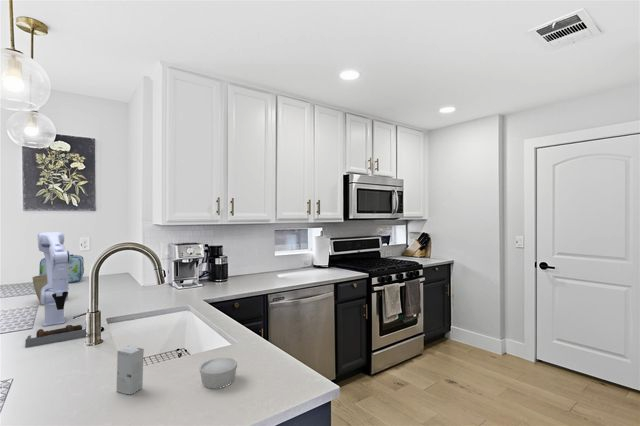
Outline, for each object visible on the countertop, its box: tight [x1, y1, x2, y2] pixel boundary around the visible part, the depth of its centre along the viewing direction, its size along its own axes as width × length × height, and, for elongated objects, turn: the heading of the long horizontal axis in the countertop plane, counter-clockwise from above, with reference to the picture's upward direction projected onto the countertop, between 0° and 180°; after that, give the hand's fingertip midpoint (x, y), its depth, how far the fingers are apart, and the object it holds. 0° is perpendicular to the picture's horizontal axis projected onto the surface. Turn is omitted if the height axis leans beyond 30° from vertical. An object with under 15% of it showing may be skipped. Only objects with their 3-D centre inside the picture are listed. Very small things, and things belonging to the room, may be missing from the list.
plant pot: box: [32, 275, 47, 306], centre depth 195 cm, size 15×15×16 cm
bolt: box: [35, 324, 83, 337], centre depth 142 cm, size 6×5×15 cm
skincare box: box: [116, 344, 145, 396], centre depth 100 cm, size 6×4×12 cm
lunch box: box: [38, 254, 85, 284], centre depth 252 cm, size 26×11×21 cm, turn 115°
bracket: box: [24, 326, 87, 348], centre depth 140 cm, size 7×20×3 cm, turn 125°
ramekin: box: [199, 357, 238, 389], centre depth 105 cm, size 11×11×5 cm
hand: (60, 309), depth 150 cm, fingers closed
